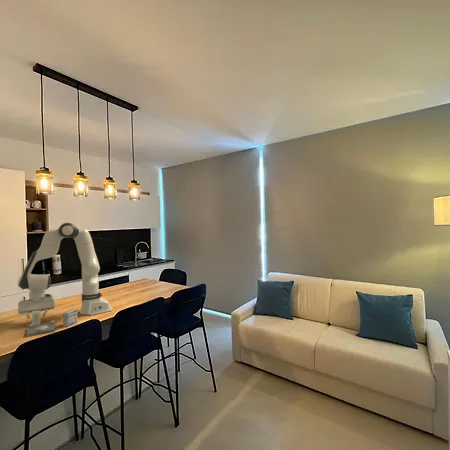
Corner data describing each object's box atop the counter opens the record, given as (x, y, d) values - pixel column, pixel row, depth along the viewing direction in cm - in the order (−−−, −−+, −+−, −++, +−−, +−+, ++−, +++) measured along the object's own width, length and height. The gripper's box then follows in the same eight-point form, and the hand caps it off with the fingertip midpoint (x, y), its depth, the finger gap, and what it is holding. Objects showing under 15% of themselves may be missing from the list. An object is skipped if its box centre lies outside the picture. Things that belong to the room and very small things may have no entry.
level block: (40, 322, 175) (40, 309, 175) (40, 324, 171) (40, 311, 171) (32, 323, 172) (32, 310, 173) (31, 325, 169) (31, 312, 169)
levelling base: (54, 324, 171) (54, 319, 171) (54, 331, 159) (54, 326, 159) (28, 328, 163) (28, 324, 163) (26, 336, 151) (26, 331, 151)
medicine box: (68, 326, 167) (68, 313, 167) (62, 326, 168) (62, 313, 168) (77, 322, 175) (77, 309, 175) (71, 321, 175) (71, 309, 176)
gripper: (18, 298, 172) (15, 317, 164) (54, 294, 183) (54, 311, 175) (18, 303, 176) (16, 322, 168) (54, 299, 187) (54, 316, 179)
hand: (36, 316), depth 171 cm, fingers open, 7 cm apart
